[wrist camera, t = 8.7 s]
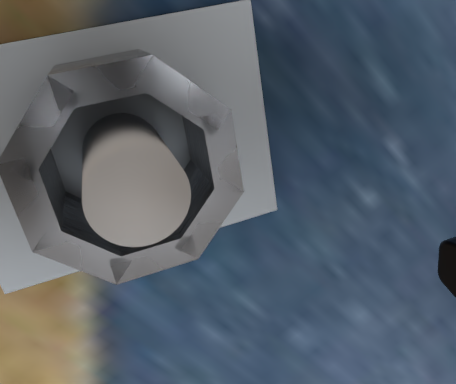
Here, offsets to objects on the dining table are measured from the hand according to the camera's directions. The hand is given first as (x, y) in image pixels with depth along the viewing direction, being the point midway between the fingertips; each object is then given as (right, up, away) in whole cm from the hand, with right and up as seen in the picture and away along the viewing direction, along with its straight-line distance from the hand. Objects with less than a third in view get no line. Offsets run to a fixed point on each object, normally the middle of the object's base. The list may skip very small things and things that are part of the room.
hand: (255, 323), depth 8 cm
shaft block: (-5, +5, +9) cm, 12 cm away
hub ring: (-5, +4, +8) cm, 10 cm away
